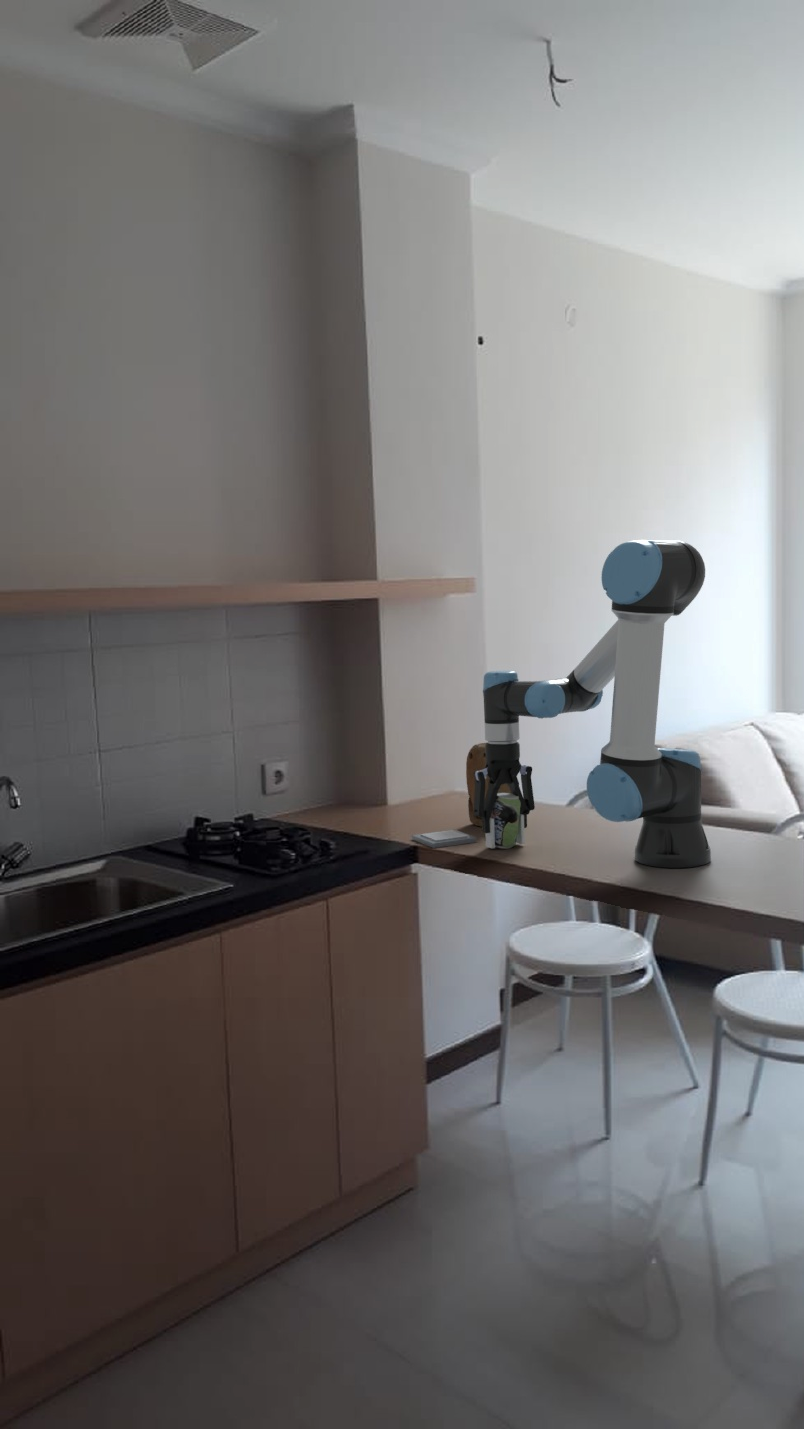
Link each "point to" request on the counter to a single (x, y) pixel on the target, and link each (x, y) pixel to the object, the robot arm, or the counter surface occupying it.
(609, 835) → the counter surface
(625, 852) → the counter surface
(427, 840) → the plate
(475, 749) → the block
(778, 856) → the counter surface
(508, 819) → the beverage can
